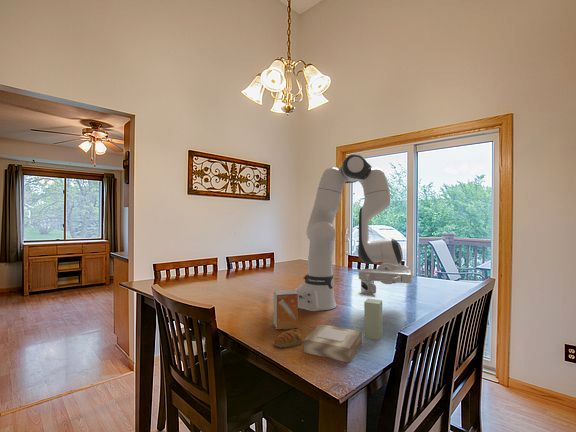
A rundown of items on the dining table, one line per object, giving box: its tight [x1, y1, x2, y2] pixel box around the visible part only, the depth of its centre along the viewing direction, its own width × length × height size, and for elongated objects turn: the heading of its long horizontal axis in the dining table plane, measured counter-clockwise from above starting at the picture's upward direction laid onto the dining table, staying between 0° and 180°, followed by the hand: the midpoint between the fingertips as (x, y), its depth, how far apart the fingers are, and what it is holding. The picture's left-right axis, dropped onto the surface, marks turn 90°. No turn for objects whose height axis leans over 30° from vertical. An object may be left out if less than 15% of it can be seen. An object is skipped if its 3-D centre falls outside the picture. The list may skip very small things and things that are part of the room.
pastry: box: [273, 329, 304, 349], centre depth 98 cm, size 9×7×4 cm
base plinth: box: [303, 324, 363, 363], centre depth 94 cm, size 14×14×4 cm
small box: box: [273, 289, 299, 330], centre depth 112 cm, size 8×6×13 cm
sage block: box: [363, 298, 383, 341], centre depth 103 cm, size 5×5×12 cm
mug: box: [360, 280, 377, 295], centre depth 159 cm, size 10×7×7 cm
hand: (381, 279), depth 114 cm, fingers open, 8 cm apart
